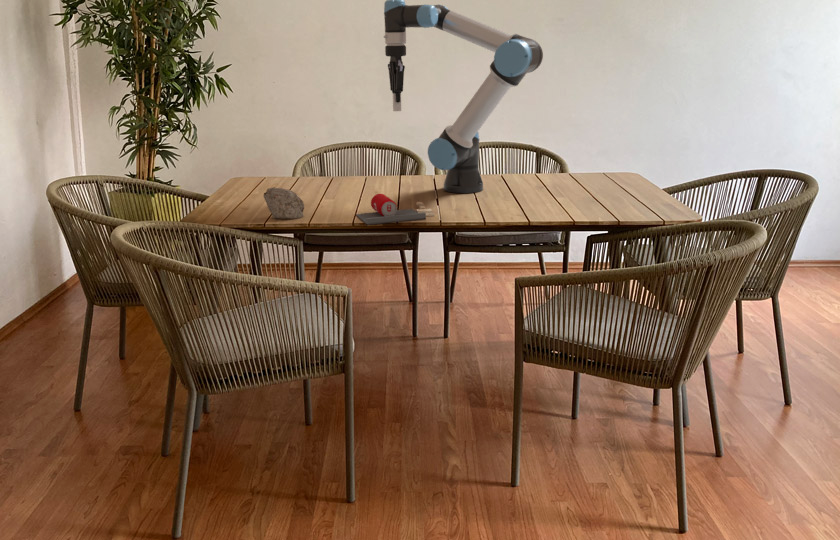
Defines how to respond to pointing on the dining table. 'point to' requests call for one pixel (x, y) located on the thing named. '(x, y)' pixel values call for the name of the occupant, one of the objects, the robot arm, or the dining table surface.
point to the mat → (391, 217)
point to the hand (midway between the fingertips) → (397, 110)
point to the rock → (283, 203)
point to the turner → (424, 209)
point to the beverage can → (383, 205)
